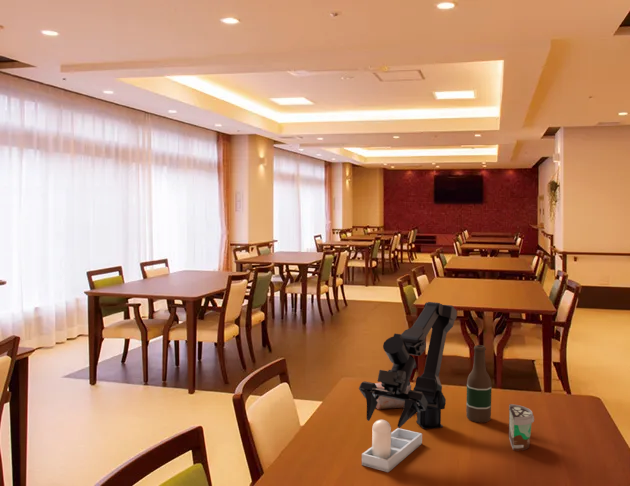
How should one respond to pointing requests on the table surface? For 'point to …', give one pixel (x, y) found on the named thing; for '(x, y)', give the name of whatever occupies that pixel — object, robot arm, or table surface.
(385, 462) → the white compartment tray
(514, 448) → the food container
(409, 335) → the robot arm
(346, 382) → the table surface
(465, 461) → the table surface
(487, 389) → the beer bottle
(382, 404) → the food item
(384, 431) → the cream tall rounded piece
